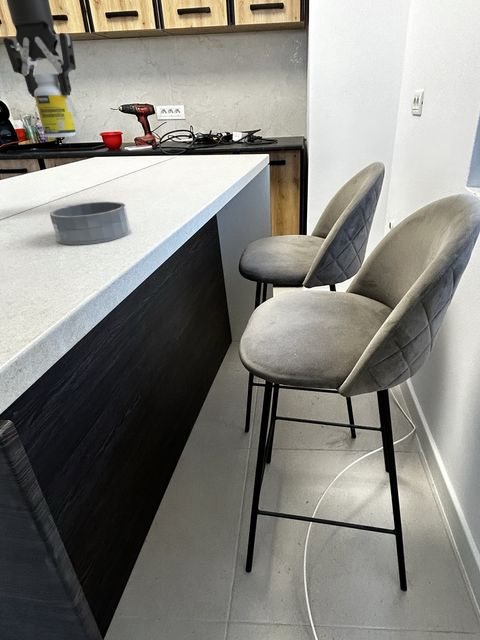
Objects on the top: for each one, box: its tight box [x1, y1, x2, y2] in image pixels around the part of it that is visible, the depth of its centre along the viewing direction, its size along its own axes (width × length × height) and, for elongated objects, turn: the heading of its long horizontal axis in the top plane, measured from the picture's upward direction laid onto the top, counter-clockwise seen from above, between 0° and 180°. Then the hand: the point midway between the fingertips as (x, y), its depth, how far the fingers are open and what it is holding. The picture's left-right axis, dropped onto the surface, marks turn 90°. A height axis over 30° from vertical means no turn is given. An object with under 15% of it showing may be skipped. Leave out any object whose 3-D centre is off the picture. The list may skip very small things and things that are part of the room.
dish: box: [49, 201, 131, 246], centre depth 74 cm, size 12×12×4 cm
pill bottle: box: [34, 73, 77, 138], centre depth 92 cm, size 6×6×12 cm
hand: (51, 95), depth 91 cm, fingers closed on pill bottle, 6 cm apart
